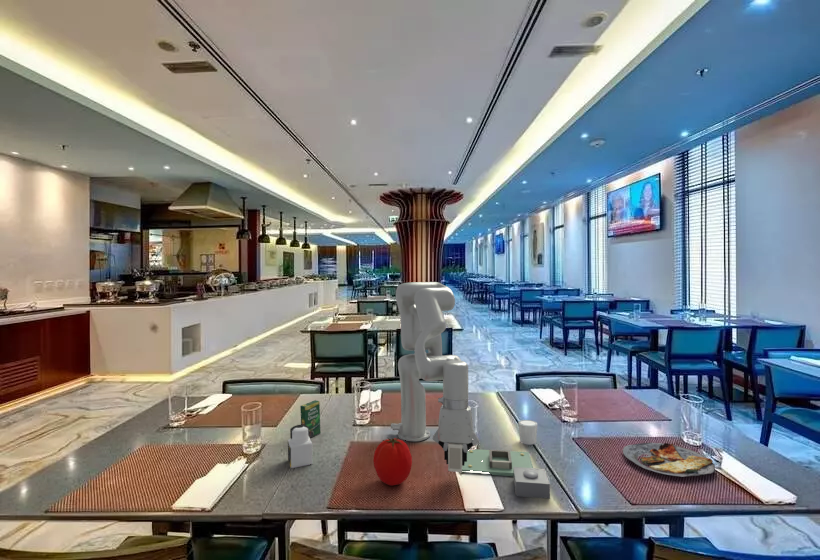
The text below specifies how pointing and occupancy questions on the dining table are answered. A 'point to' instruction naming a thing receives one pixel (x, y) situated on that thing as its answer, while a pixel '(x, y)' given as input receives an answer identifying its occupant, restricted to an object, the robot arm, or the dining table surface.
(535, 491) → the grey push button box
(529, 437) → the gray cup
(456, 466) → the plug
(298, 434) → the medicine bottle
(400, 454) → the tomato
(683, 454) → the food plate
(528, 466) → the board
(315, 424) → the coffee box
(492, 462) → the socket
